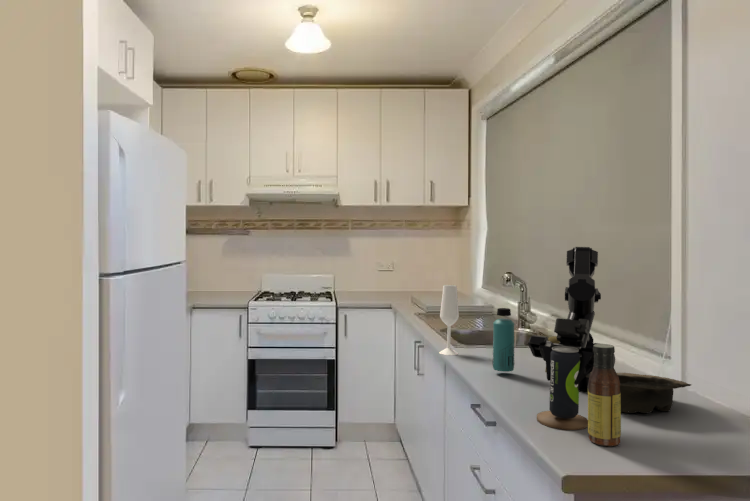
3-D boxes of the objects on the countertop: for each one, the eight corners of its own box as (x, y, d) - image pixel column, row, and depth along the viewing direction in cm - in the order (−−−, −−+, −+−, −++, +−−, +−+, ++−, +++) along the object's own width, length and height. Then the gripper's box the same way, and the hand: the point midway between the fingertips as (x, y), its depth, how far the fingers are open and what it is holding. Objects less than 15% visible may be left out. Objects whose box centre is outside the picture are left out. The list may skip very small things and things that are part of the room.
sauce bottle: (612, 436, 119) (615, 342, 119) (626, 448, 113) (629, 348, 112) (581, 436, 119) (583, 342, 118) (593, 447, 113) (596, 348, 112)
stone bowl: (627, 424, 127) (626, 382, 128) (562, 400, 151) (561, 365, 152) (716, 415, 134) (715, 375, 134) (640, 394, 158) (639, 360, 158)
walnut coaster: (583, 416, 133) (583, 412, 133) (592, 431, 122) (592, 428, 122) (534, 412, 135) (534, 409, 135) (539, 427, 124) (539, 424, 124)
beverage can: (543, 411, 130) (545, 346, 130) (566, 409, 132) (568, 345, 132) (560, 420, 125) (562, 352, 124) (584, 417, 127) (586, 350, 126)
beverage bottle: (508, 377, 168) (509, 310, 167) (488, 374, 172) (489, 308, 171) (518, 373, 173) (519, 308, 172) (497, 370, 177) (498, 306, 176)
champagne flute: (455, 355, 198) (457, 286, 197) (436, 353, 200) (438, 285, 200) (460, 352, 204) (461, 285, 203) (441, 350, 207) (443, 284, 206)
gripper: (531, 301, 136) (512, 355, 128) (613, 308, 125) (598, 368, 117) (542, 329, 143) (524, 382, 135) (621, 339, 132) (607, 397, 124)
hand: (561, 381), depth 127 cm, fingers closed on beverage can, 6 cm apart
